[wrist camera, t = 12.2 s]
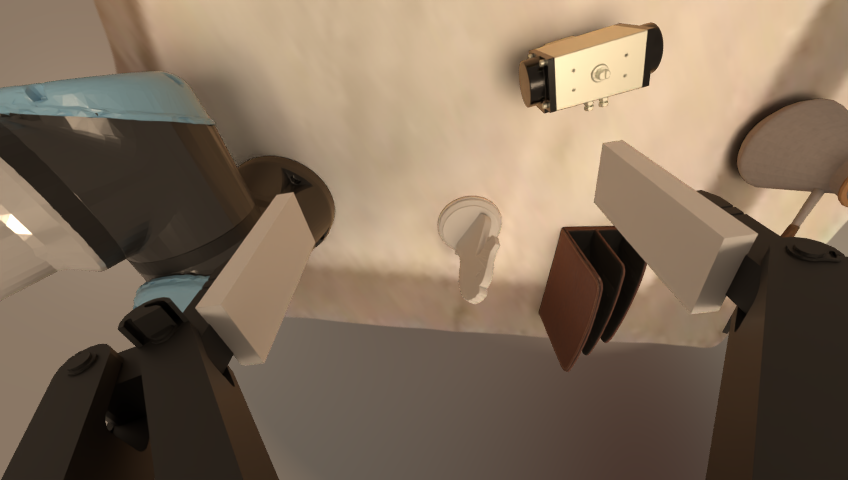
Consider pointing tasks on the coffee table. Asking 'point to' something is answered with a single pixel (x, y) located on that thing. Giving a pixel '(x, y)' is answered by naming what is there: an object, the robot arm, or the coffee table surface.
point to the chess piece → (472, 242)
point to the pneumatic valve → (590, 67)
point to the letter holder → (589, 289)
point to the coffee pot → (799, 153)
